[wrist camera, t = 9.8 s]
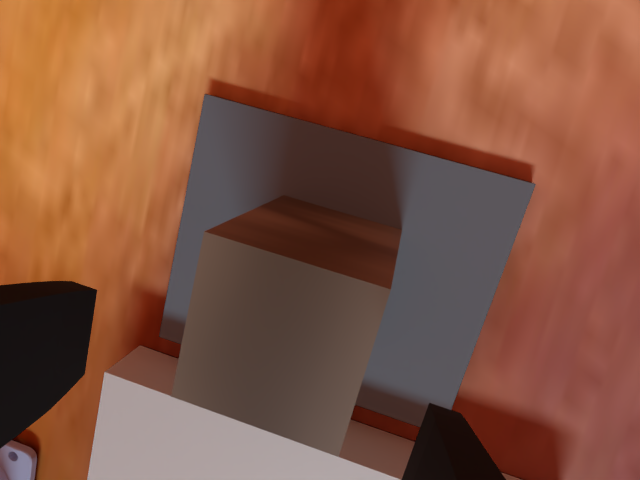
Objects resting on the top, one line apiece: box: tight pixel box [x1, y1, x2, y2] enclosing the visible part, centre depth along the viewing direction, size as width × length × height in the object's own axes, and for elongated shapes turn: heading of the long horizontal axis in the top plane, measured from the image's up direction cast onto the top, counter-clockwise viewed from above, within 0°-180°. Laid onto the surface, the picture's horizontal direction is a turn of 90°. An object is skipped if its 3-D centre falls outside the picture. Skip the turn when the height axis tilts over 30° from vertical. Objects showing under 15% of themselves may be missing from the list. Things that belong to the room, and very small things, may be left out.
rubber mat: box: [159, 94, 535, 427], centre depth 19 cm, size 12×10×1 cm
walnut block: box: [171, 195, 402, 457], centre depth 15 cm, size 4×4×7 cm
